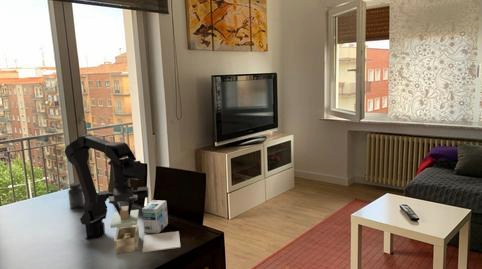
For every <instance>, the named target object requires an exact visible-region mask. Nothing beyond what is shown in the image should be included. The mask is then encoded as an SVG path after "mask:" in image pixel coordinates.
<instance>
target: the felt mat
mask: <svg viewBox="0 0 482 269" xmlns="http://www.w3.org/2000/svg"><path fill="white" fill-rule="evenodd" d="M142 242H143V244H142V253H149V252H156V251H163V250H170V249H180V248H181V247H182V246H181V241H180V231H179V230H177V231H169V232H168V231H167V232H162V233H160V232H159V233H151V234H144V236H143V241H142Z"/></svg>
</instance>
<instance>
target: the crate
mask: <svg viewBox="0 0 482 269" xmlns="http://www.w3.org/2000/svg"><path fill="white" fill-rule="evenodd" d="M139 240H140V231H139V225H138V224H137V225H132V227H124V228H117V227H116V232H115V235H114V239H113V244H114V254H121V253H130V252H137V251H138V248H139Z"/></svg>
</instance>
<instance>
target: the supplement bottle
mask: <svg viewBox="0 0 482 269" xmlns="http://www.w3.org/2000/svg"><path fill="white" fill-rule="evenodd" d="M69 188H70V189H69V190H68V193H67V194H68V201H69V208H70V209H73V210H74V209H75V210H76V209H81V208H83V207H84V203H85V198H84V194H83V191H82V188H81V185H80V182H72V183H69Z"/></svg>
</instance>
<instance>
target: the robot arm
mask: <svg viewBox="0 0 482 269" xmlns="http://www.w3.org/2000/svg"><path fill="white" fill-rule="evenodd" d="M91 149H93V150H96V151H98V152H101V153H103V154H104V155H105V157H106V158H108V159H110V160H109V161H108V162H107V164H108V166H111V168H112V175H113V179H112V180H113V189H112V191H113V192H109V190H99V191H98V192H97V189H96V186H95V182H94V180H93V176H92V173H91V170H90V166H89V164H88V162H89V159H90V152H89V151H90V150H91ZM132 151H133V150H132V149H131V148H130V146H129V144H128V143H126V142H122V141H121V142H120V141H113V142H112V141H109V140H107V139H103V138H100V137H98V136H95V135H93V134H91V133H88V134H83V135H80V136H79V137H78V138H77V139H75V140H73V141H72V142H70V143H69V144H67V145H66V146H65V149H64V154H65V156H66V159H67V161H68V162H69V163H70V164H71V165H73V166H74V169H75V172H76V175H77V178H78V183H80V186H81V187H80V188H82V191H83V194H84V206H83V207H82V208H83V212H84V213H83V214H82V216H81V217H80V219H79V220H80V223H81V225H85V234H86V236H85V240H89V239H99V238H102V237H104V235H105V232H106V226H105V222H103V221H104V220H105V219H106V218H107V214H108V206H107V204H106V201H107V200H108V203H109V204H112V205H113V206H114V208H115V210H116V212H118V213H119V215H120V209H121V207H122V206H121V204H120V202H127V201H128V206H129V208H128V213H129V216H130V212H131V210H132V207H133V204H134V202H135V201H137V200H138V198H139V199H147V198H149V193H150V191H149V187H148V186H142V187H141V186H139V187H137V190H136V189H135V190H134V188H133V186H131V183H130V182H131V180H130V179H132V180H138V181H140V180H142V179H144V178H145V176H146V174H147V169H146V167H145V165H143V164H142V163H141V160H137V158H136V156H135V154H134V153H133V152H132Z"/></svg>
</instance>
